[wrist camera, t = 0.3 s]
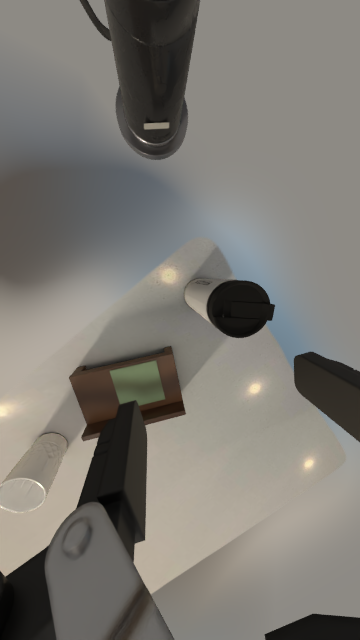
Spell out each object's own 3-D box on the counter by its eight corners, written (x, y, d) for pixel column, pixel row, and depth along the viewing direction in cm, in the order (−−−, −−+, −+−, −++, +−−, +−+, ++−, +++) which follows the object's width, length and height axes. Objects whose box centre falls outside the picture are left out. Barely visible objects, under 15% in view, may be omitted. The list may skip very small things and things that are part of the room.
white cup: (25, 438, 40) (-16, 489, 30) (60, 425, 40) (31, 471, 31) (43, 463, 42) (10, 519, 32) (76, 450, 42) (54, 502, 33)
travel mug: (212, 309, 39) (270, 341, 20) (182, 308, 38) (211, 339, 19) (216, 279, 38) (281, 282, 18) (184, 277, 37) (218, 278, 17)
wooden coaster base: (77, 367, 38) (60, 386, 31) (171, 346, 40) (174, 360, 33) (94, 414, 41) (82, 441, 34) (180, 392, 43) (185, 414, 36)
